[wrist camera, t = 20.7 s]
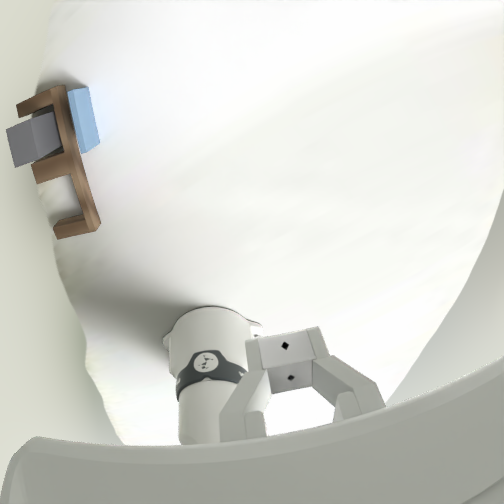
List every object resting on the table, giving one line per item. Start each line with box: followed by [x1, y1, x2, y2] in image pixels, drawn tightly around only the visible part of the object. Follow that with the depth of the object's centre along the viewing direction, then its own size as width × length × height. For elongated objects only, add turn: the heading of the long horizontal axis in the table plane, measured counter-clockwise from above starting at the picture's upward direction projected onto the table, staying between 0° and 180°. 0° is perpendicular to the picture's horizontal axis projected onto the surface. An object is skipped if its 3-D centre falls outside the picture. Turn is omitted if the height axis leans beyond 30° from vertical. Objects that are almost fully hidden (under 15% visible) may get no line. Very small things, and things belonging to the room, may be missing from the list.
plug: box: [6, 111, 62, 167], centre depth 30 cm, size 5×4×8 cm
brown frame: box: [16, 85, 101, 240], centre depth 34 cm, size 21×10×5 cm, turn 6°
